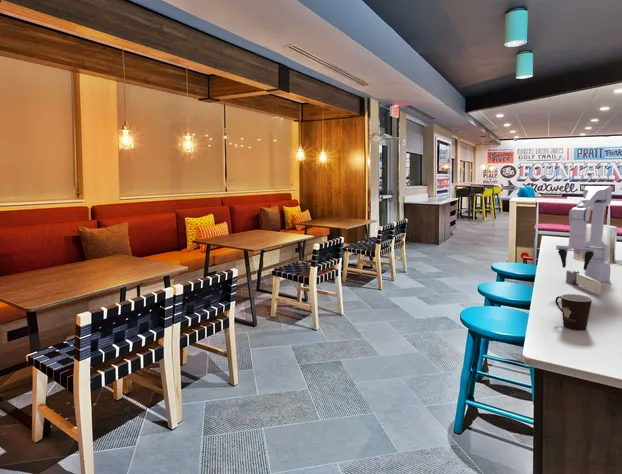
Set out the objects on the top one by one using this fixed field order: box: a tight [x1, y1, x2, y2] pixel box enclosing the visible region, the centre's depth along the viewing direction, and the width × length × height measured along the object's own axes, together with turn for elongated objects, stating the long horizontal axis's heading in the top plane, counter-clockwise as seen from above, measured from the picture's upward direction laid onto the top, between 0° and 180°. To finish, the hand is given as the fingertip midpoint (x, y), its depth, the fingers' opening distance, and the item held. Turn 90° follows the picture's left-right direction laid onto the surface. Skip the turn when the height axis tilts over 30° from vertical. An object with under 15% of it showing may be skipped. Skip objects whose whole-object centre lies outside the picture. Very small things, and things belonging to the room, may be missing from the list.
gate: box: [576, 272, 602, 295], centre depth 179 cm, size 16×2×5 cm, turn 174°
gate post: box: [565, 270, 580, 286], centre depth 191 cm, size 8×2×6 cm, turn 174°
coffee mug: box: [555, 293, 593, 332], centre depth 138 cm, size 12×9×10 cm
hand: (574, 268), depth 175 cm, fingers open, 7 cm apart
